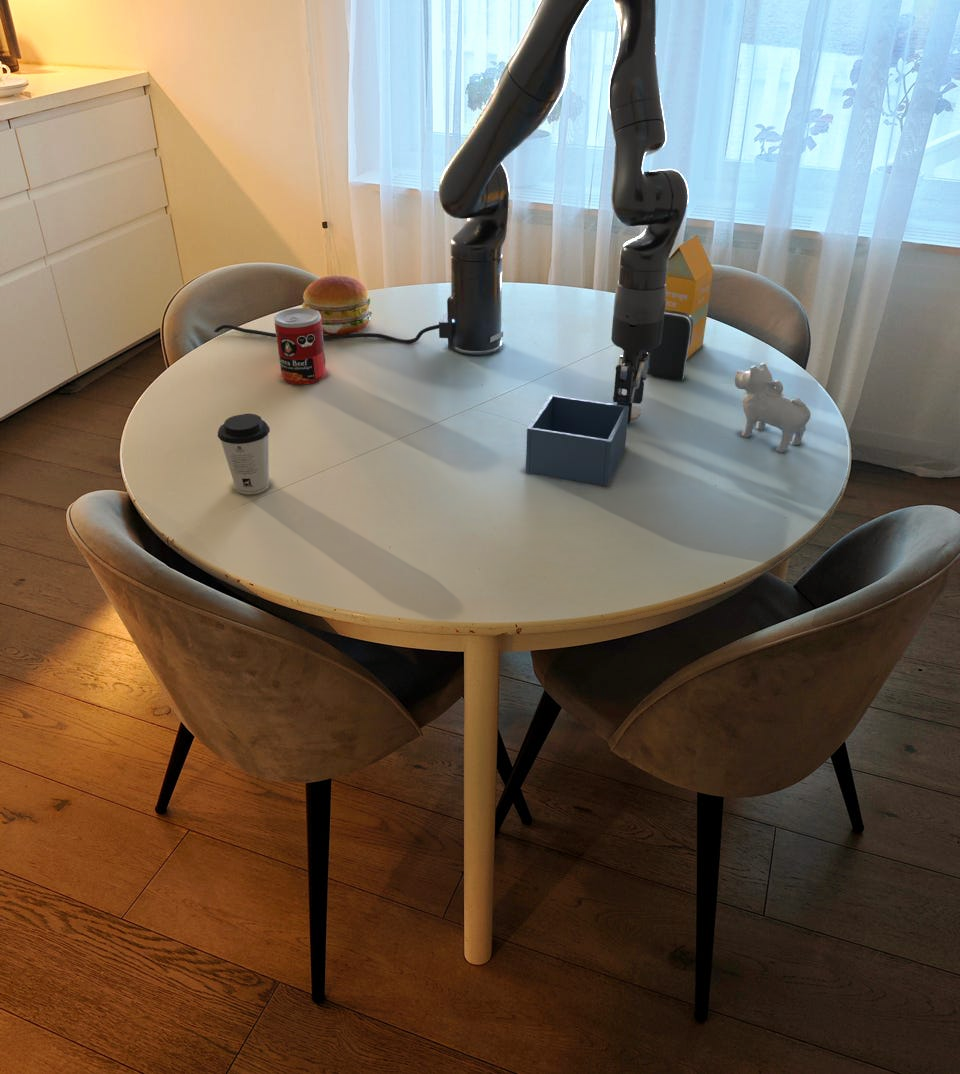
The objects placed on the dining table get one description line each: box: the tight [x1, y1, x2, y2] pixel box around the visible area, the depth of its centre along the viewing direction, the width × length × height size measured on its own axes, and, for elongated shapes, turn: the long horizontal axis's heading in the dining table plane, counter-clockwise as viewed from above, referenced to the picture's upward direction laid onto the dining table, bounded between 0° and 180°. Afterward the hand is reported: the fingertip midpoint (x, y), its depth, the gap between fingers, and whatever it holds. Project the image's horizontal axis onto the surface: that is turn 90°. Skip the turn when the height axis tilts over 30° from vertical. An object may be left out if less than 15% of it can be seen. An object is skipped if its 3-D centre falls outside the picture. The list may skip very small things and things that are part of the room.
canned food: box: [273, 307, 327, 386], centre depth 156 cm, size 8×8×11 cm
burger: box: [301, 274, 373, 335], centre depth 176 cm, size 14×14×10 cm
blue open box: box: [525, 394, 629, 487], centre depth 132 cm, size 7×12×12 cm
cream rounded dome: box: [630, 405, 643, 423], centre depth 144 cm, size 4×5×2 cm
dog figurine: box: [734, 362, 811, 453], centre depth 137 cm, size 5×13×11 cm, turn 40°
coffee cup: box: [217, 412, 271, 496], centre depth 124 cm, size 7×7×10 cm
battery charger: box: [647, 310, 693, 381], centre depth 156 cm, size 7×4×11 cm, turn 65°
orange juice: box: [665, 234, 715, 359], centre depth 164 cm, size 8×9×20 cm
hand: (629, 412), depth 144 cm, fingers open, 7 cm apart
